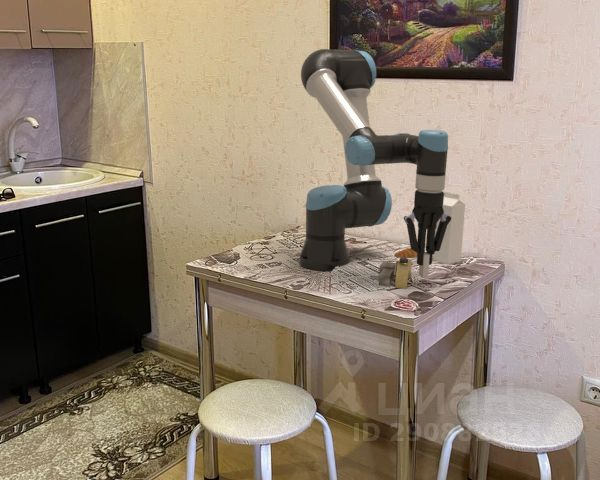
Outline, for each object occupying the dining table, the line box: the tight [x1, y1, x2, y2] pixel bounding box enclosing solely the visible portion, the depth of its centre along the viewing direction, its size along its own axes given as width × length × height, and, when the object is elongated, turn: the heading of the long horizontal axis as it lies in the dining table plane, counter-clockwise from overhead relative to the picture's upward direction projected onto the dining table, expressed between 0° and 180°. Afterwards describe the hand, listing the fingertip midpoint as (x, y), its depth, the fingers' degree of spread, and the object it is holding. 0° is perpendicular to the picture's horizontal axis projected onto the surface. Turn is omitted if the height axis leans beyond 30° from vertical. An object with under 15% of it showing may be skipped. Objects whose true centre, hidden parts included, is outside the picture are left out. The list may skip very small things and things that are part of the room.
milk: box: [432, 191, 466, 265], centre depth 199 cm, size 6×6×22 cm
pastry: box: [393, 247, 417, 259], centre depth 207 cm, size 9×7×4 cm
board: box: [378, 258, 409, 287], centre depth 184 cm, size 17×24×6 cm
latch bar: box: [394, 259, 413, 289], centre depth 180 cm, size 13×4×4 cm, turn 169°
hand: (423, 276), depth 179 cm, fingers closed
